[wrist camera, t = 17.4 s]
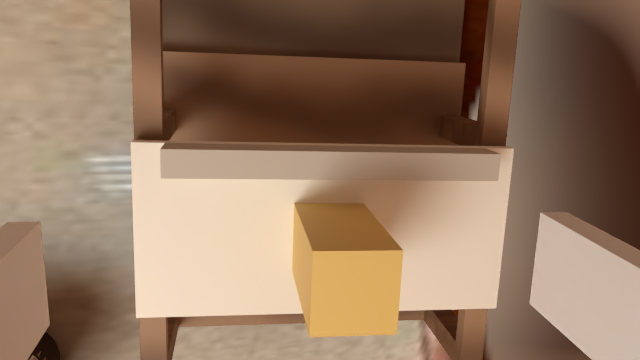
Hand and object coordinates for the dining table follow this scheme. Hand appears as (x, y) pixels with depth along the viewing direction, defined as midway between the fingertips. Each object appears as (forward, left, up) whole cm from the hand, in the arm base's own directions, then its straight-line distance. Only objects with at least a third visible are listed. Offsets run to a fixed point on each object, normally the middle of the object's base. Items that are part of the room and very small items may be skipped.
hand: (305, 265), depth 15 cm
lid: (+4, +4, -18) cm, 19 cm away
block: (+5, +4, -17) cm, 18 cm away
